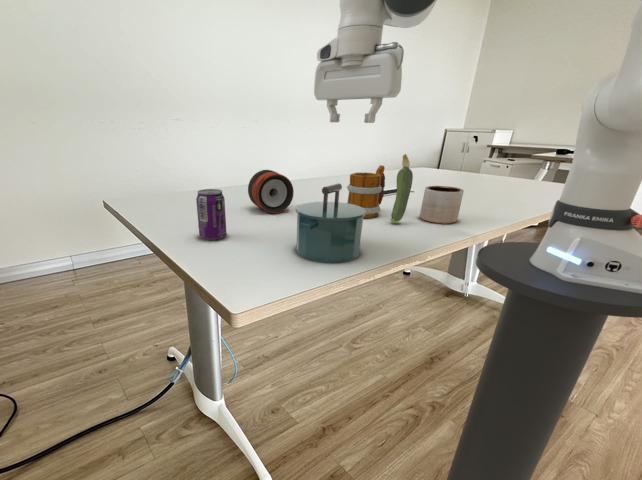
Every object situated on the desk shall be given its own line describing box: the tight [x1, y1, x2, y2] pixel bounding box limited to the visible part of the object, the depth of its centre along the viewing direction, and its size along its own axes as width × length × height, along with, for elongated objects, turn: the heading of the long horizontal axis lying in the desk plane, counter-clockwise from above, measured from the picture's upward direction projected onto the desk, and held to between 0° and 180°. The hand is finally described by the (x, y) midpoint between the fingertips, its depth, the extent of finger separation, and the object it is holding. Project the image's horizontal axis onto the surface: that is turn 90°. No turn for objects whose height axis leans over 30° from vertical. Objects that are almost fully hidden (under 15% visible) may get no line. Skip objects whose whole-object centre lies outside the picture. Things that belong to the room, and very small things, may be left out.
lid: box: [295, 182, 366, 221], centre depth 76 cm, size 16×16×6 cm
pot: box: [295, 212, 364, 264], centre depth 80 cm, size 15×20×10 cm
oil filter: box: [247, 169, 294, 214], centre depth 116 cm, size 13×12×13 cm
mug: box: [346, 164, 386, 219], centre depth 112 cm, size 11×16×15 cm, turn 131°
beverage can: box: [195, 188, 227, 241], centre depth 88 cm, size 7×7×12 cm
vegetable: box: [390, 153, 414, 225], centre depth 99 cm, size 4×4×20 cm
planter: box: [419, 185, 465, 225], centre depth 106 cm, size 11×11×10 cm
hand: (351, 122), depth 76 cm, fingers open, 8 cm apart
